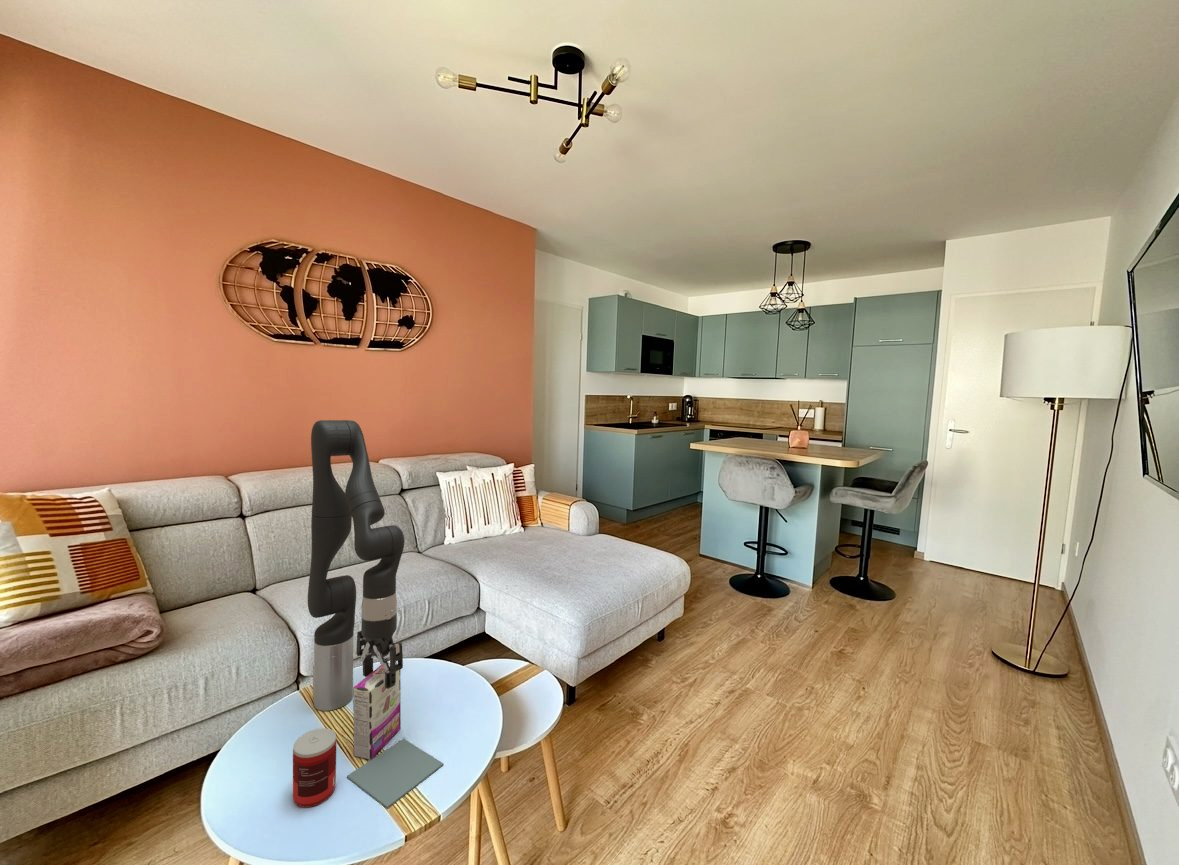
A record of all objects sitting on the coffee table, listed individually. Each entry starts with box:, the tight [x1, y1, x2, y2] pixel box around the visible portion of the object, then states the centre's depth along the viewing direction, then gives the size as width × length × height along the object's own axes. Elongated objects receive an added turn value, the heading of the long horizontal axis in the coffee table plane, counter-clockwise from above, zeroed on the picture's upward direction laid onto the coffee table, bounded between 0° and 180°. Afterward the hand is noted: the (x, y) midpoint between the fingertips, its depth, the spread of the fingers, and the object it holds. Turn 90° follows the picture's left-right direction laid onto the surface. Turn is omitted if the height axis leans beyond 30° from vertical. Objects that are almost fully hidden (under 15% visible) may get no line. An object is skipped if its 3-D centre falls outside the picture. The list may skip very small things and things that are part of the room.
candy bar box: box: [352, 662, 402, 761], centre depth 111 cm, size 11×5×16 cm, turn 167°
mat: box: [346, 738, 444, 809], centre depth 103 cm, size 14×14×1 cm
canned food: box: [292, 727, 337, 808], centre depth 96 cm, size 8×8×11 cm
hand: (378, 680), depth 110 cm, fingers open, 8 cm apart
